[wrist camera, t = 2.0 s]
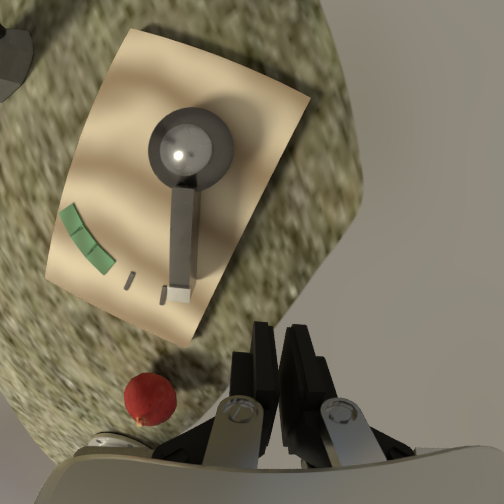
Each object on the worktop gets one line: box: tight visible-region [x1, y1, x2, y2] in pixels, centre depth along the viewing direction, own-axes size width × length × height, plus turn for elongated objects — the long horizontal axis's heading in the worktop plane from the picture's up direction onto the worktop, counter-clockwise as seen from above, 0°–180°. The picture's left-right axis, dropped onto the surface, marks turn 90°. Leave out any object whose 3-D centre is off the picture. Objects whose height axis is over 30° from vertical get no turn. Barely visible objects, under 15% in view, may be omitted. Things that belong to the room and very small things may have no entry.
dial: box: [148, 107, 235, 303], centre depth 24 cm, size 15×6×4 cm, turn 174°
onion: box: [124, 373, 177, 427], centre depth 30 cm, size 6×6×8 cm
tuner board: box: [45, 28, 311, 349], centre depth 26 cm, size 26×17×2 cm, turn 154°
